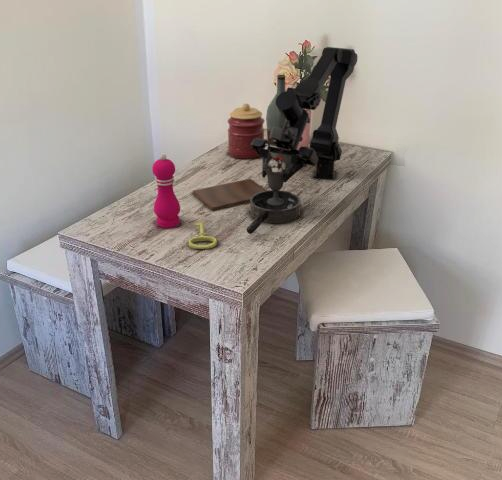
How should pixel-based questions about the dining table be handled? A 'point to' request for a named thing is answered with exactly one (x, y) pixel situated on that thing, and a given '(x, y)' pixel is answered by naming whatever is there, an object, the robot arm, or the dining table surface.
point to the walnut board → (228, 194)
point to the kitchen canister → (244, 131)
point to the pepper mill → (165, 193)
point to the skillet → (275, 213)
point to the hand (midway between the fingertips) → (273, 179)
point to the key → (202, 238)
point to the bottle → (276, 117)
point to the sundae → (275, 178)
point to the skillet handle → (257, 222)
